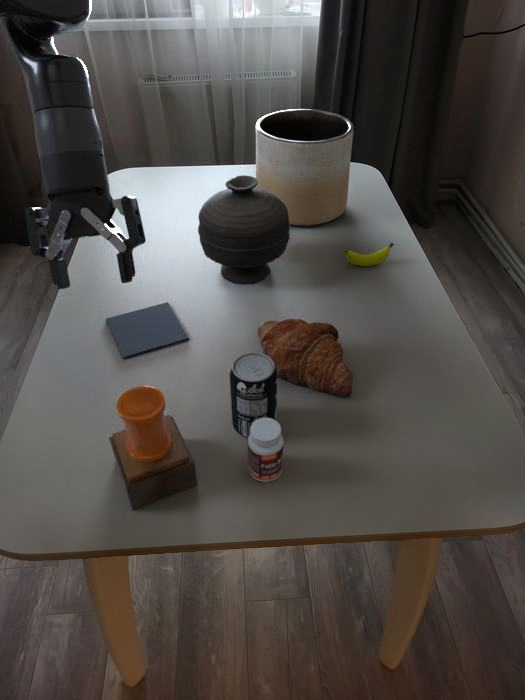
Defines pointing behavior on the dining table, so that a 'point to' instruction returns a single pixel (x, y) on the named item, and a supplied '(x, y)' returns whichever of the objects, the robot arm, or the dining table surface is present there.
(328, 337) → the pastry
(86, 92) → the robot arm
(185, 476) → the wooden box
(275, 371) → the beverage can
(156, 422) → the spool
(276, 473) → the pill bottle
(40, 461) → the dining table surface
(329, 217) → the planter
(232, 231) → the pot
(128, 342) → the mat
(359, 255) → the fruit
